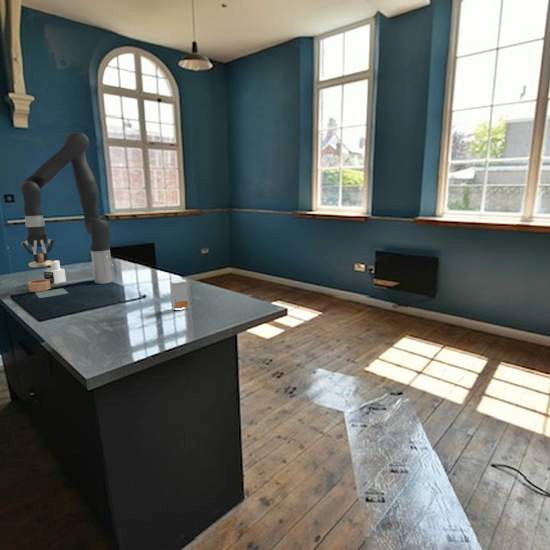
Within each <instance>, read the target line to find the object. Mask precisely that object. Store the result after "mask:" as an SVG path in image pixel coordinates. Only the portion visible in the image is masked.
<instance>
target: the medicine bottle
mask: <svg viewBox="0 0 550 550" xmlns="http://www.w3.org/2000/svg"><path fill="white" fill-rule="evenodd" d="M52 261H54V264H53V265H50V266H46V269H45V270H43V277H44V278H43V279H49V280H50V285H56V284H60V283H66V282H67V277H66V271H65V268H61V265H60V264H61V263H60V260H57V259H54V260H52Z"/></svg>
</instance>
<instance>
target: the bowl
mask: <svg viewBox="0 0 550 550" xmlns="http://www.w3.org/2000/svg"><path fill="white" fill-rule="evenodd" d="M51 285H52V284H50V280H49V279H45V278H40V279H33V280H29V281H27V287H28V291H29V293H31V292H32V293H33V292H34V293H36V292H42V291H49V290H50V289H51V290H52V286H51Z"/></svg>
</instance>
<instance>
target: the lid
mask: <svg viewBox="0 0 550 550" xmlns="http://www.w3.org/2000/svg"><path fill="white" fill-rule="evenodd" d="M36 254H37V257H38V262H37V263H36V261H31V262H29V263H27V264H28V267H29V268H44V267H47V266H50V265H53V264H54V261H52V260H51V259H49V260H48V259H47V260H46V261H44V255H43V252H38V253H37V252H36Z"/></svg>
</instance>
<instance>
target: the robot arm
mask: <svg viewBox="0 0 550 550" xmlns="http://www.w3.org/2000/svg"><path fill="white" fill-rule="evenodd" d="M89 146H90V140H89V138H88V136H87V135H86V134H85V133H83V132H79V131H75V132H74V131H73V132H71V133H69V134H67V135H66V136H65V138H64V144H63V146H62V147H61V149H60V150H58V151H57V152H56V153H55V154H54V155H52V156H51V157H49V159H47V160H46V161H45V162H43V163H42V164H41V165H40V166H39V167H38V168H37V169H36V170H35V171H34V172H33V173H32V174H31V175H30V176H29V177H27V178H26V179H25V180H24V181H23V182H22V183H21V184H20V185H19V191H20V193H21V195H22V196H23V202H24V204H23V212H24V213H23V214H24V219H25V220H24V222H25V228H26V229H25V230H26V236H27V238H26V240H25V241H22V242H21V246H22V247H23V248H24V250H25V251H26V252H27V253H28V254H29V255H32V258H33V262H35V261H36V263H37V262H38V257H37V254H36V253H37V249H38V248H39V247H40V248H41V251H42V253H43V255H44V261H46V260H48V253H50V252H51V251H52V249H53V246H54V243H55V240H54V239H51V238H49V237H48V236H47V231H46V223H45V219H44V215H43V210H42V199H41V197H42V195H41V189H42V188H43V187H44V186H45V185H47V184H49V183H50V182H51V181H52V180H53V179H54V178H55V177H56V176H57V175H58V174H59V173H60V172H61V171H62V170H63V169H64V168H65V167H66V166H67V165H68V164H69V163H71V166H72V167H71V168H72V171H73V177H74V180H75V185H76V189H77V194H78V197H79V201H80V204H81V205H80V206H81V208H82V211H83V218H84V226H85V230H86V232H87V234H88V235H90V236H91V244H90V246H89V247H90V257H91V264H92V272H93V280H94V283H95V284H99V285H101V284H109V283H110V284H111V283H113V282H115V273H114V272H115V271H114V264H113V262H112V256H111V255H112V254H111V250H110V249H111V248H110V247H111V232H110V231H111V229H110V227H109V223H107V221H105V220H104V219H101V217H100V213H99V208H98V207H99V206H98V204H99V189H98V185H97V181H96V178H95V176H94V173H93V172H92V171H93V170H91V168H90V166H89V164H88V160H87V156H86V151H87V150H88V149H89ZM47 243H48V245H47V248H46V246H45V245H46V244H47ZM28 245H30V246H31V249H30V248H29V247H28Z"/></svg>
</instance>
